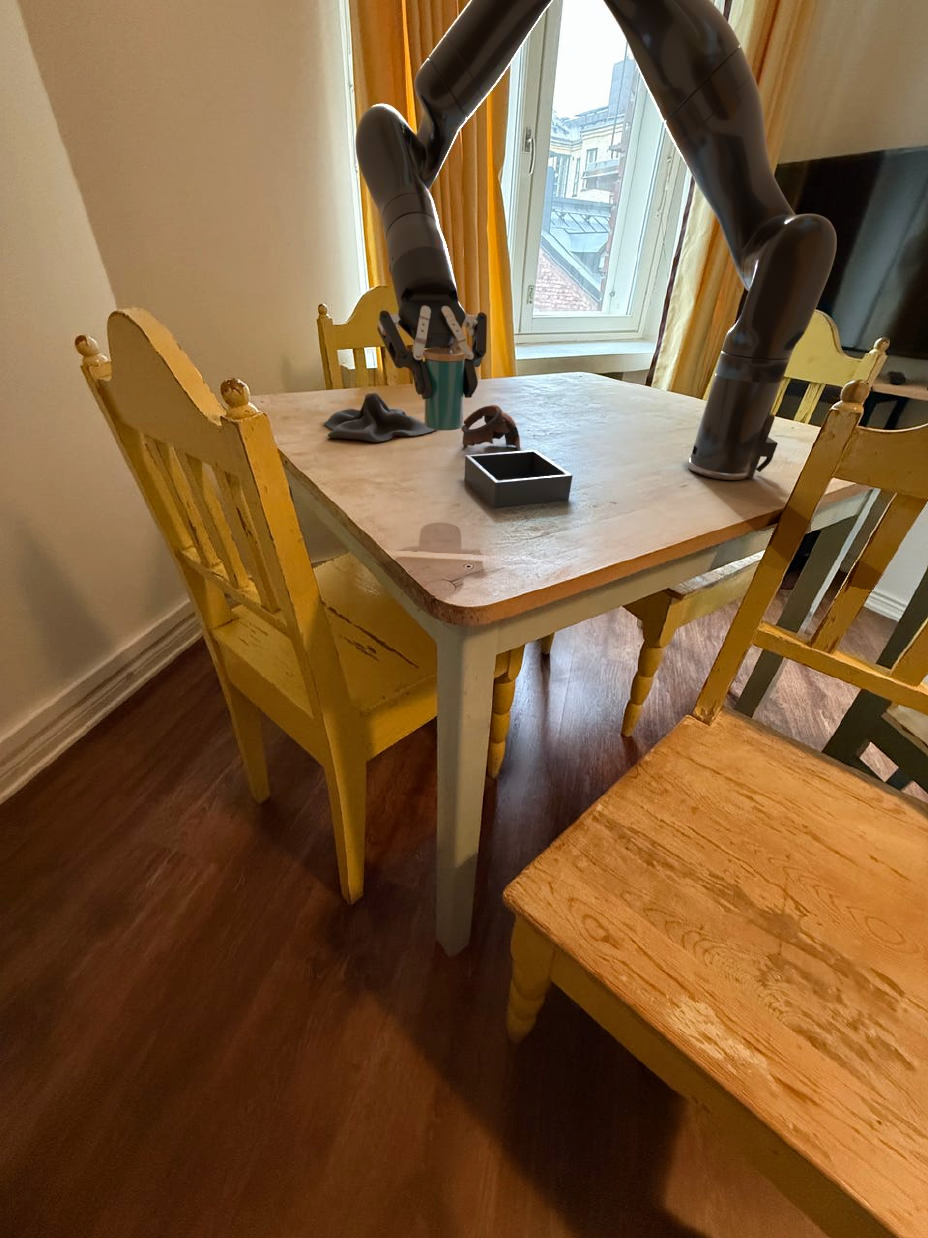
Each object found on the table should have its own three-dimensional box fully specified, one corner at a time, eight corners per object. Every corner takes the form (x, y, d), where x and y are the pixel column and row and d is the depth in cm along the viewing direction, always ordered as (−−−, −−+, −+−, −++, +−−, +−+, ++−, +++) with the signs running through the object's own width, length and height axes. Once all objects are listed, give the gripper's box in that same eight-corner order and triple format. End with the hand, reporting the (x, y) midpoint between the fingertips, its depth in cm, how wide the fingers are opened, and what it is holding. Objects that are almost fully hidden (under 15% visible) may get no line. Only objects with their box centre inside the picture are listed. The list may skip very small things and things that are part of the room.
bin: (532, 475, 80) (535, 449, 78) (568, 503, 71) (572, 475, 69) (464, 482, 76) (465, 455, 74) (493, 512, 68) (495, 482, 66)
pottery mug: (525, 463, 86) (506, 420, 81) (473, 481, 90) (452, 442, 84) (525, 425, 94) (507, 384, 88) (478, 444, 97) (458, 405, 92)
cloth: (334, 447, 88) (330, 408, 84) (312, 419, 101) (307, 385, 98) (454, 435, 96) (455, 400, 92) (418, 411, 110) (418, 380, 106)
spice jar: (463, 421, 68) (466, 348, 63) (462, 431, 64) (465, 355, 59) (425, 419, 68) (425, 346, 63) (421, 429, 64) (421, 353, 59)
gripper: (366, 240, 59) (395, 376, 57) (483, 246, 63) (514, 373, 61) (360, 292, 66) (386, 415, 64) (466, 294, 70) (494, 409, 68)
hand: (449, 394), depth 62 cm, fingers closed on spice jar, 5 cm apart
